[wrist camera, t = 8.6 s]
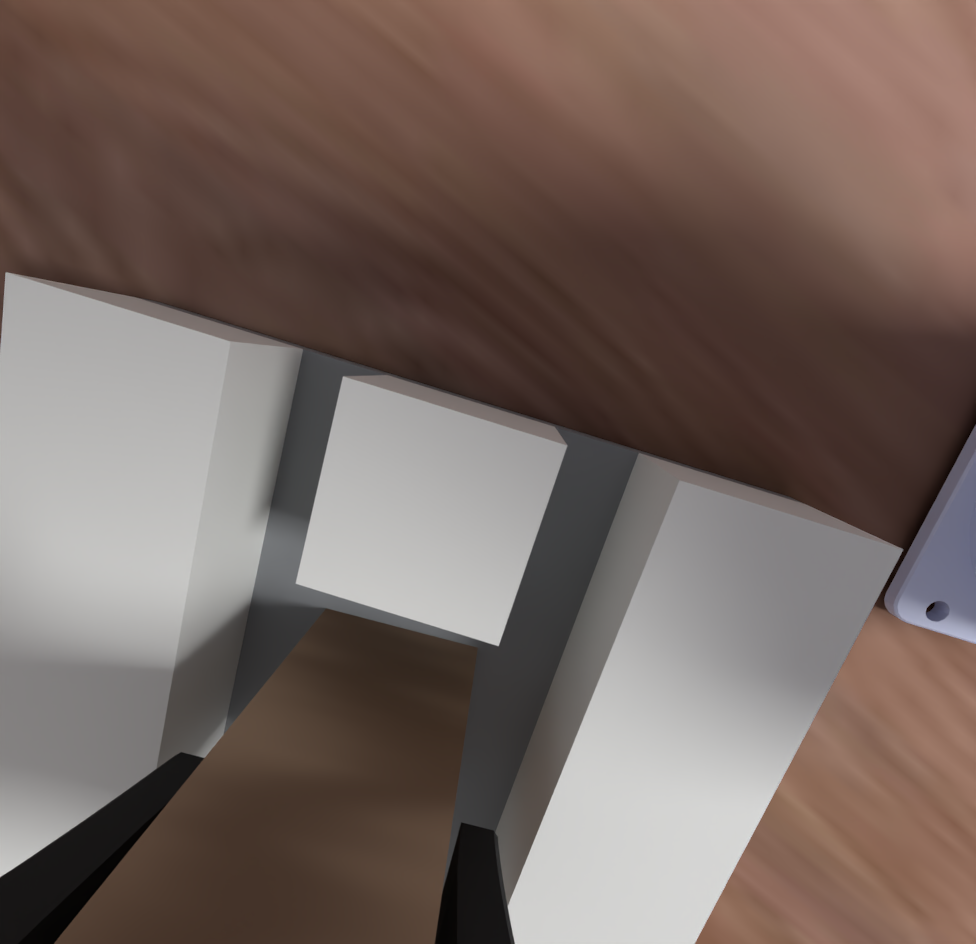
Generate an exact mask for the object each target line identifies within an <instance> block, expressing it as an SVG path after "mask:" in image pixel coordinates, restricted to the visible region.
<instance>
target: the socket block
mask: <svg viewBox="0 0 976 944" xmlns="http://www.w3.org/2000/svg"><path fill="white" fill-rule="evenodd" d="M902 551H903V549H902V548H899V547H897V546H895V545H893V544H891V543H889V542H886V541H884V540H882V539H880V538H878V537H876V536H873V535H871V534H869V533H867V532H865V531H863V530H860V529H858V528H856V527H854V526H852V525H850V524H847V523H845V522H843V521H841V520H839V519H837V518H834V517H832V516H830V515H828V514H826V513H824V512H821V511H819V510H817V509H815V508H813V507H810V506H808V505H806V504H804V503H802V502H800V501H797V500H795V499H793V498H791V497H789V496H785V495H782V494H779V493H776V492H772V491H769V490H766V489H763V488H759V487H756V486H753V485H750V484H746V483H743V482H740V481H737V480H734V479H730V478H727V477H724V476H721V475H717V474H714V473H711V472H708V471H704V470H701V469H698V468H695V467H691V466H688V465H685V464H682V463H678V462H675V461H672V460H669V459H666V458H662V457H659V456H656V455H653V454H649V453H646V452H643V451H640V450H636V449H633V448H630V447H627V446H623V445H620V444H617V443H614V442H611V441H607V440H604V439H601V438H598V437H594V436H591V435H588V434H585V433H581V432H578V431H575V430H572V429H568V428H565V427H562V426H559V425H556V424H552V423H549V422H546V421H543V420H539V419H536V418H533V417H530V416H526V415H523V414H520V413H517V412H513V411H510V410H507V409H504V408H500V407H497V406H494V405H491V404H488V403H484V402H481V401H478V400H475V399H471V398H468V397H465V396H462V395H458V394H455V393H452V392H449V391H445V390H442V389H439V388H436V387H433V386H429V385H426V384H423V383H420V382H416V381H413V380H410V379H407V378H403V377H400V376H397V375H394V374H390V373H387V372H384V371H381V370H378V369H374V368H371V367H368V366H365V365H361V364H358V363H355V362H352V361H348V360H345V359H342V358H339V357H335V356H332V355H329V354H326V353H322V352H319V351H316V350H313V349H310V348H306V347H303V346H300V345H297V344H293V343H290V342H287V341H284V340H280V339H277V338H274V337H271V336H267V335H264V334H261V333H258V332H255V331H251V330H248V329H245V328H242V327H238V326H235V325H232V324H229V323H225V322H222V321H219V320H216V319H212V318H209V317H206V316H203V315H199V314H196V313H193V312H190V311H187V310H183V309H180V308H177V307H174V306H170V305H167V304H164V303H161V302H157V301H152V300H147V299H142V298H137V297H131V296H126V295H121V294H116V293H111V292H106V291H101V290H95V289H90V288H85V287H80V286H75V285H70V284H65V283H59V282H54V281H49V280H44V279H39V278H34V277H29V276H23V275H18V274H13V273H8V272H6V275H5V290H4V304H3V319H2V333H1V348H0V877H1V876H2V875H4V874H6V873H7V872H9V871H10V870H12V869H13V868H15V867H16V866H18V865H19V864H21V863H22V862H24V861H25V860H27V859H28V858H30V857H31V856H33V855H34V854H36V853H37V852H39V851H40V850H42V849H43V848H44V847H46V846H47V845H49V844H50V843H52V842H53V841H55V840H56V839H58V838H59V837H60V836H62V835H63V834H65V833H66V832H68V831H69V830H71V829H72V828H74V827H75V826H77V825H78V824H79V823H81V822H82V821H84V820H85V819H87V818H88V817H90V816H91V815H92V814H94V813H95V812H97V811H98V810H99V809H101V808H102V807H104V806H105V805H107V804H108V803H109V802H111V801H112V800H114V799H115V798H116V797H118V796H119V795H121V794H122V793H123V792H125V791H126V790H128V789H129V788H130V787H132V786H133V785H135V784H136V783H137V782H139V781H140V780H142V779H143V778H144V777H146V776H147V775H148V774H150V773H151V772H153V771H154V770H155V769H157V768H158V767H160V766H161V765H162V764H164V763H165V762H167V761H168V760H169V759H171V758H172V757H174V756H175V755H177V754H179V753H180V752H183V753H187V754H191V755H195V756H199V757H203V758H205V757H206V756H207V754H208V753H209V752H210V751H211V749H212V748H213V747H214V746H215V745H216V743H217V742H218V741H219V740H220V738H221V737H222V736H223V735H224V733H225V732H226V731H227V730H228V729H229V727H230V726H231V725H232V724H233V722H234V721H235V720H236V719H237V717H238V716H239V715H240V714H241V713H242V711H243V710H244V709H245V708H246V706H247V705H248V704H249V703H250V701H251V700H252V699H253V698H254V697H255V695H256V694H257V693H258V692H259V690H260V689H261V688H262V687H263V685H264V684H265V683H266V682H267V681H268V679H269V678H270V677H271V676H272V674H273V673H274V672H275V671H276V669H277V668H278V667H279V666H280V664H281V663H282V662H283V661H284V660H285V658H286V657H287V656H288V655H289V653H290V652H291V651H292V650H293V648H294V647H295V646H296V645H297V644H298V642H299V641H300V640H301V639H302V637H303V636H304V635H305V634H306V632H307V631H308V630H309V629H310V628H311V626H312V625H313V624H314V623H315V621H316V620H317V619H318V618H319V616H320V615H321V614H322V613H323V612H324V610H325V609H326V608H327V609H331V610H335V611H339V612H343V613H346V614H350V615H354V616H358V617H362V618H366V619H369V620H373V621H377V622H381V623H385V624H389V625H392V626H396V627H400V628H404V629H408V630H412V631H416V632H419V633H423V634H427V635H431V636H435V637H439V638H442V639H446V640H450V641H454V642H458V643H462V644H466V645H469V646H473V647H477V648H478V650H477V657H476V664H475V671H474V678H473V685H472V691H471V698H470V705H469V712H468V719H467V726H466V732H465V739H464V746H463V753H462V760H461V767H460V774H459V780H458V787H457V794H456V801H455V808H454V815H453V821H452V828H451V835H450V842H449V849H448V856H447V862H446V869H445V876H444V883H443V888H444V884H445V880H446V877H447V873H448V869H449V866H450V862H451V858H452V855H453V851H454V847H455V844H456V840H457V836H458V832H459V829H460V825H461V822H462V823H466V824H470V825H474V826H478V827H482V828H486V829H490V830H494V832H495V833H496V835H497V836H498V845H499V854H500V862H501V869H502V876H503V883H504V889H505V895H506V900H507V906H508V911H509V917H510V922H511V927H512V932H513V937H514V942H515V944H695V942H696V940H697V938H698V936H699V934H700V932H701V931H702V929H703V927H704V925H705V923H706V921H707V919H708V917H709V915H710V914H711V912H712V910H713V908H714V906H715V904H716V902H717V900H718V898H719V897H720V895H721V893H722V891H723V889H724V887H725V885H726V883H727V881H728V880H729V878H730V876H731V874H732V872H733V870H734V868H735V866H736V865H737V863H738V861H739V859H740V857H741V855H742V853H743V851H744V849H745V848H746V846H747V844H748V842H749V840H750V838H751V836H752V834H753V832H754V831H755V829H756V827H757V825H758V823H759V821H760V819H761V817H762V815H763V814H764V812H765V810H766V808H767V806H768V804H769V802H770V800H771V798H772V797H773V795H774V793H775V791H776V789H777V787H778V785H779V783H780V782H781V780H782V778H783V776H784V774H785V772H786V770H787V768H788V766H789V765H790V763H791V761H792V759H793V757H794V755H795V753H796V751H797V749H798V748H799V746H800V744H801V742H802V740H803V738H804V736H805V734H806V732H807V731H808V729H809V727H810V725H811V723H812V721H813V719H814V717H815V715H816V714H817V712H818V710H819V708H820V706H821V704H822V702H823V700H824V698H825V697H826V695H827V693H828V691H829V689H830V687H831V685H832V683H833V682H834V680H835V678H836V676H837V674H838V672H839V670H840V668H841V666H842V665H843V663H844V661H845V659H846V657H847V655H848V653H849V651H850V649H851V648H852V646H853V644H854V642H855V640H856V638H857V636H858V634H859V632H860V631H861V629H862V627H863V625H864V623H865V621H866V619H867V617H868V615H869V614H870V612H871V610H872V608H873V606H874V604H875V602H876V600H877V599H878V597H879V595H880V593H881V591H882V589H883V587H884V585H885V583H886V582H887V580H888V578H889V576H890V574H891V572H892V570H893V568H894V566H895V565H896V563H897V561H898V559H899V557H900V555H901V553H902ZM442 892H443V890H442Z"/></svg>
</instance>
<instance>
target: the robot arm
mask: <svg viewBox="0 0 976 944" xmlns="http://www.w3.org/2000/svg"><path fill="white" fill-rule="evenodd" d="M884 602H885V607H886V608H887V610H888V611H889V612H890V613H891V614H893V615H894V616H896V617H897V618H899V619H901V620H902V621H904V622H906V623H910V624H913V625H916V626H919V627H923V628H926V629H929V630H932V631H935V632H939V633H942V634H945V635H948V636H952V637H955V638H958V639H961V640H965V641H968V642H971V643H974V644H976V425H975V427H974V429H973V430H972V432H971V434H970V436H969V438H968V440H967V442H966V444H965V445H964V447H963V449H962V451H961V453H960V455H959V457H958V459H957V460H956V462H955V464H954V466H953V468H952V470H951V472H950V474H949V475H948V477H947V479H946V481H945V483H944V485H943V487H942V489H941V490H940V492H939V494H938V496H937V498H936V500H935V502H934V504H933V506H932V507H931V509H930V511H929V513H928V515H927V517H926V519H925V521H924V522H923V524H922V526H921V528H920V530H919V532H918V534H917V536H916V537H915V539H914V541H913V543H912V545H911V547H910V549H909V551H908V552H907V554H906V556H905V558H904V560H903V562H902V564H901V566H900V567H899V569H898V571H897V573H896V575H895V577H894V579H893V581H892V582H891V584H890V586H889V588H888V590H887V592H886V595H885V598H884ZM934 602H935V605H934V607H933V608H932V609H931V610H930V611H929V612H926V609H927V607H928V606H929V605H930V604H931V603H934ZM203 759H204V758H203V757H199V756H195V755H191V754H187V753H183V752H180V753H179V754H177V755H175V756H174V757H172V758H171V759H169V760H168V761H167V762H165V763H164V764H162V765H161V766H160V767H158V768H157V769H155V770H154V771H153V772H151V773H150V774H148V775H147V776H146V777H144V778H143V779H142V780H140V781H139V782H137V783H136V784H135V785H133V786H132V787H130V788H129V789H128V790H126V791H125V792H123V793H122V794H121V795H119V796H118V797H116V798H115V799H114V800H112V801H111V802H109V803H108V804H107V805H105V806H104V807H102V808H101V809H99V810H98V811H97V812H95V813H94V814H92V815H91V816H90V817H88V818H87V819H85V820H84V821H82V822H81V823H79V824H78V825H77V826H75V827H74V828H72V829H71V830H69V831H68V832H66V833H65V834H63V835H62V836H60V837H59V838H58V839H56V840H55V841H53V842H52V843H50V844H49V845H47V846H46V847H44V848H43V849H42V850H40V851H39V852H37V853H36V854H34V855H33V856H31V857H30V858H28V859H27V860H25V861H24V862H22V863H21V864H19V865H18V866H16V867H15V868H13V869H12V870H10V871H9V872H7V873H6V874H4V875H2V876H1V877H0V944H54V943H55V942H56V940H57V939H58V938H59V937H60V935H61V934H62V933H63V932H64V931H65V929H66V928H67V927H68V926H69V924H70V923H71V922H72V921H73V919H74V918H75V917H76V916H77V914H78V913H79V912H80V911H81V910H82V908H83V907H84V906H85V905H86V903H87V902H88V901H89V900H90V898H91V897H92V896H93V895H94V894H95V892H96V891H97V890H98V889H99V887H100V886H101V885H102V884H103V882H104V881H105V880H106V879H107V878H108V876H109V875H110V874H111V873H112V871H113V870H114V869H115V868H116V866H117V865H118V864H119V863H120V862H121V860H122V859H123V858H124V857H125V855H126V854H127V853H128V852H129V850H130V849H131V848H132V847H133V846H134V844H135V843H136V842H137V841H138V839H139V838H140V837H141V836H142V834H143V833H144V832H145V831H146V830H147V828H148V827H149V826H150V825H151V823H152V822H153V821H154V820H155V818H156V817H157V816H158V815H159V814H160V812H161V811H162V810H163V809H164V807H165V806H166V805H167V804H168V802H169V801H170V800H171V799H172V798H173V796H174V795H175V794H176V793H177V791H178V790H179V789H180V788H181V786H182V785H183V784H184V783H185V781H186V780H187V779H188V778H189V777H190V775H191V774H192V773H193V772H194V770H195V769H196V768H197V767H198V765H199V764H200V763H201V762H202V761H203ZM435 944H515V942H514V937H513V932H512V927H511V922H510V917H509V911H508V906H507V900H506V895H505V889H504V883H503V876H502V869H501V862H500V854H499V845H498V836H497V835H496V833H495V832H494V830H490V829H486V828H482V827H478V826H474V825H470V824H466V823H462V822H461V825H460V829H459V832H458V836H457V840H456V844H455V847H454V851H453V855H452V858H451V862H450V866H449V869H448V873H447V877H446V880H445V884H444V888H443V892H442V897H441V904H440V910H439V917H438V924H437V931H436V938H435Z"/></svg>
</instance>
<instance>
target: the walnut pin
mask: <svg viewBox="0 0 976 944" xmlns="http://www.w3.org/2000/svg"><path fill="white" fill-rule="evenodd" d="M477 650H478V648H477V647H473V646H469V645H466V644H462V643H458V642H454V641H450V640H446V639H442V638H439V637H435V636H431V635H427V634H423V633H419V632H416V631H412V630H408V629H404V628H400V627H396V626H392V625H389V624H385V623H381V622H377V621H373V620H369V619H366V618H362V617H358V616H354V615H350V614H346V613H343V612H339V611H335V610H331V609H327V608H326V609H325V610H324V612H323V613H322V614H321V615H320V616H319V618H318V619H317V620H316V621H315V623H314V624H313V625H312V626H311V628H310V629H309V630H308V631H307V632H306V634H305V635H304V636H303V637H302V639H301V640H300V641H299V642H298V644H297V645H296V646H295V647H294V648H293V650H292V651H291V652H290V653H289V655H288V656H287V657H286V658H285V660H284V661H283V662H282V663H281V664H280V666H279V667H278V668H277V669H276V671H275V672H274V673H273V674H272V676H271V677H270V678H269V679H268V681H267V682H266V683H265V684H264V685H263V687H262V688H261V689H260V690H259V692H258V693H257V694H256V695H255V697H254V698H253V699H252V700H251V701H250V703H249V704H248V705H247V706H246V708H245V709H244V710H243V711H242V713H241V714H240V715H239V716H238V717H237V719H236V720H235V721H234V722H233V724H232V725H231V726H230V727H229V729H228V730H227V731H226V732H225V733H224V735H223V736H222V737H221V738H220V740H219V741H218V742H217V743H216V745H215V746H214V747H213V748H212V749H211V751H210V752H209V753H208V754H207V756H206V757H205V758H204V759H203V761H202V762H201V763H200V764H199V765H198V767H197V768H196V769H195V770H194V772H193V773H192V774H191V775H190V777H189V778H188V779H187V780H186V781H185V783H184V784H183V785H182V786H181V788H180V789H179V790H178V791H177V793H176V794H175V795H174V796H173V798H172V799H171V800H170V801H169V802H168V804H167V805H166V806H165V807H164V809H163V810H162V811H161V812H160V814H159V815H158V816H157V817H156V818H155V820H154V821H153V822H152V823H151V825H150V826H149V827H148V828H147V830H146V831H145V832H144V833H143V834H142V836H141V837H140V838H139V839H138V841H137V842H136V843H135V844H134V846H133V847H132V848H131V849H130V850H129V852H128V853H127V854H126V855H125V857H124V858H123V859H122V860H121V862H120V863H119V864H118V865H117V866H116V868H115V869H114V870H113V871H112V873H111V874H110V875H109V876H108V878H107V879H106V880H105V881H104V882H103V884H102V885H101V886H100V887H99V889H98V890H97V891H96V892H95V894H94V895H93V896H92V897H91V898H90V900H89V901H88V902H87V903H86V905H85V906H84V907H83V908H82V910H81V911H80V912H79V913H78V914H77V916H76V917H75V918H74V919H73V921H72V922H71V923H70V924H69V926H68V927H67V928H66V929H65V931H64V932H63V933H62V934H61V935H60V937H59V938H58V939H57V940H56V942H55V943H54V944H435V938H436V931H437V924H438V917H439V910H440V904H441V897H442V890H443V883H444V876H445V869H446V862H447V856H448V849H449V842H450V835H451V828H452V821H453V815H454V808H455V801H456V794H457V787H458V780H459V774H460V767H461V760H462V753H463V746H464V739H465V732H466V726H467V719H468V712H469V705H470V698H471V691H472V685H473V678H474V671H475V664H476V657H477Z"/></svg>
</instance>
